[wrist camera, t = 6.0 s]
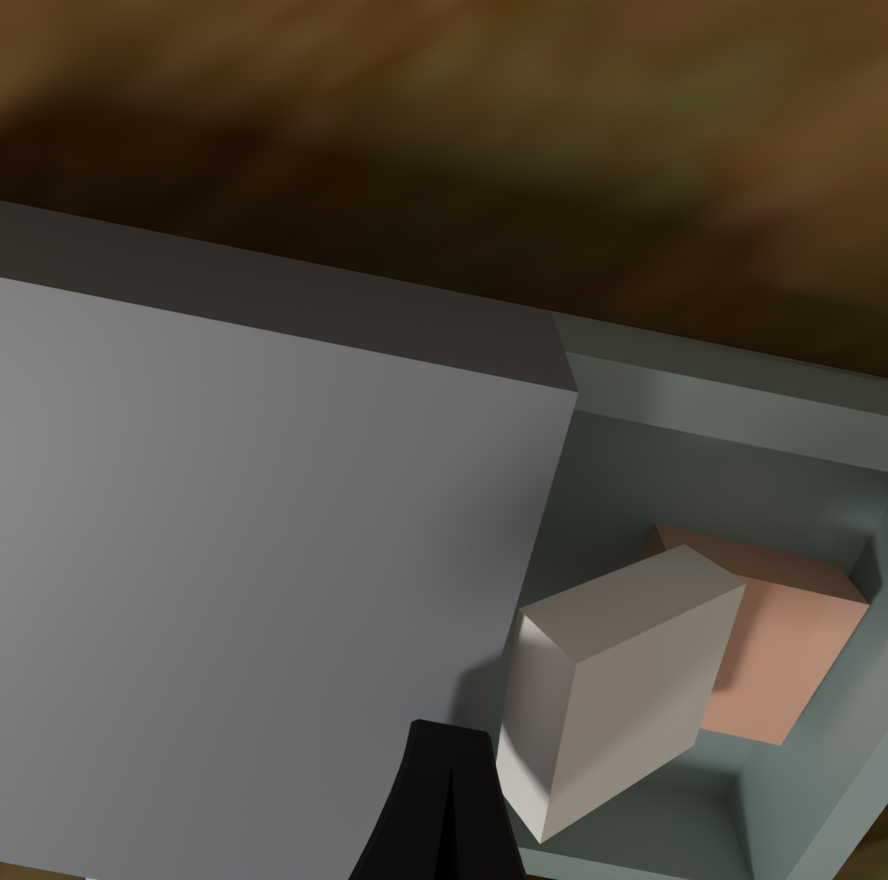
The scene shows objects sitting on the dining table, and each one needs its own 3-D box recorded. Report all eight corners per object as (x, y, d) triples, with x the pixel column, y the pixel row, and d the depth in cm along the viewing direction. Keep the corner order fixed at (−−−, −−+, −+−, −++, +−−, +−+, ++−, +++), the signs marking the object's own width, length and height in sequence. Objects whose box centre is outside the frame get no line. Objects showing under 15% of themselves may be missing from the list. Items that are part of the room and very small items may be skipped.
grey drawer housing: (435, 756, 20) (418, 940, 15) (-18, 669, 19) (-173, 828, 15) (550, 310, 14) (578, 392, 9) (-99, 180, 14) (-400, 198, 9)
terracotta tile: (604, 706, 16) (595, 662, 17) (780, 745, 16) (757, 697, 17) (670, 559, 14) (654, 522, 15) (869, 604, 14) (836, 563, 15)
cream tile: (642, 698, 16) (693, 745, 14) (493, 781, 13) (540, 843, 12) (684, 543, 14) (746, 582, 13) (518, 608, 11) (576, 664, 10)
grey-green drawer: (738, 814, 20) (785, 943, 17) (435, 756, 20) (424, 874, 16) (983, 397, 14) (1129, 472, 11) (550, 310, 14) (567, 360, 11)
